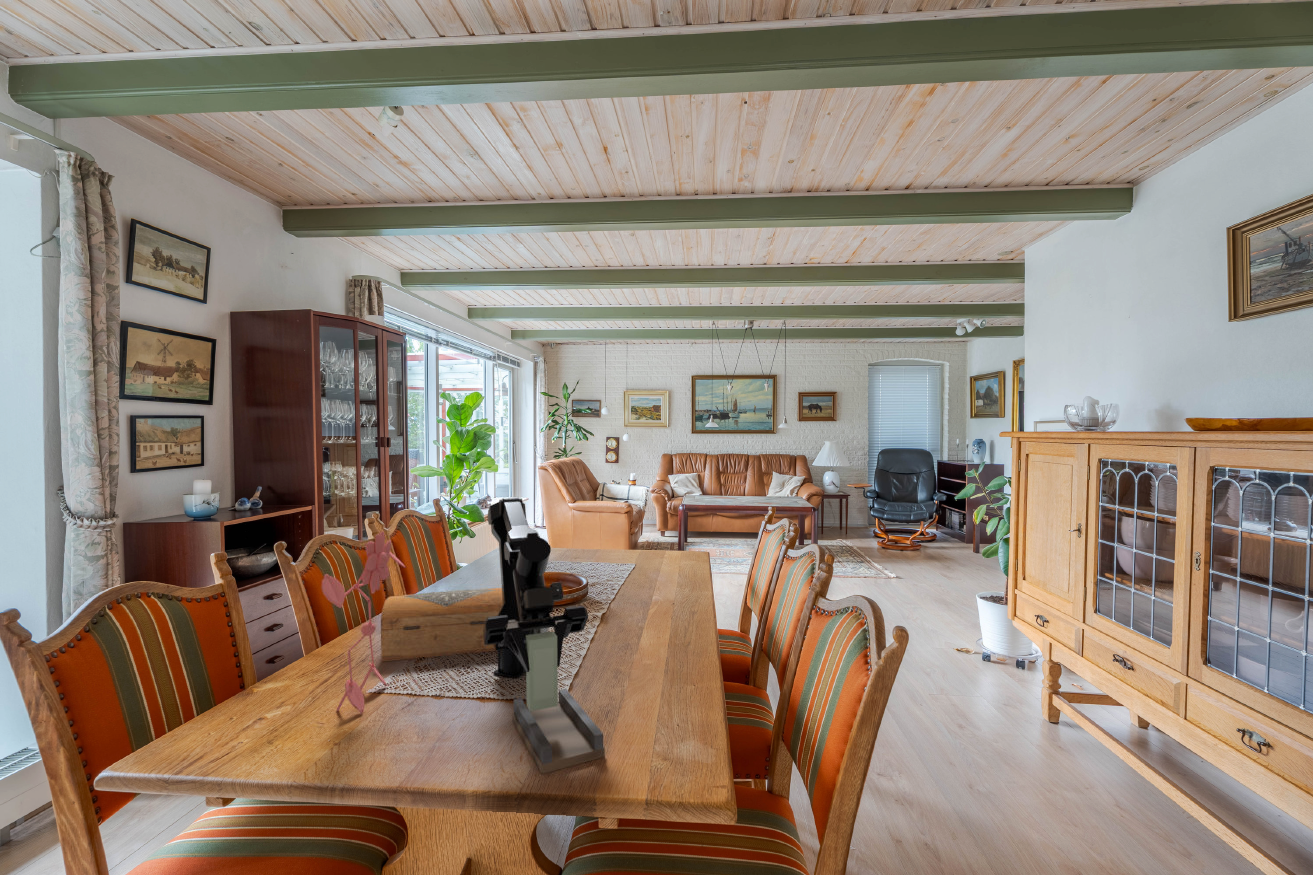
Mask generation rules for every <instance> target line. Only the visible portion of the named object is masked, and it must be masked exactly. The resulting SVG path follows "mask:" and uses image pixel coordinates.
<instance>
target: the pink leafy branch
mask: <svg viewBox="0 0 1313 875" xmlns="http://www.w3.org/2000/svg"><path fill="white" fill-rule="evenodd" d="M385 540H386V538H385V532H384V530H381V531H380V533H377V534H376V536H375V537H374V541H372V540H369V541H368V542H367V543H366V544H365V554H366V556H367V559H366V560H365V561H366V562H365V564H364V569H363V571H362V573H361V575H360V577H359V578H358V580H357V582H356V583H354V584H353V586H352V587H350V588H349V589H348V590H347V591H346V592H345V587H344V586H343V584H342V583H341V581H339V580H338V579H337V578H336V577H334V576H331V575H329V574H328V573H326V574H324V575H323V579H322V580H321V590H322V593H323V595H324V596H325V598H326V599H327V601H329V602H330V603H332V604H333V605H334V606H335V607H338V608H339V609H342V608H343V605H344V602H345V598H346V597H347V596H349V594H350V593H351V592H352V591H354V590H357V591H358V592H359V594H361V596H363V598H364V599H365V600H366V601H367V610H368V622H366V623H363V625H362V626H361V628H360V633H361V634H362V637H360V638H359V639H358V640H357V641H356V642H355V644H353V645H352V646H351V647H349V649H348V650H347V658H348V666H349V667H348V669H349V679H347V680H346V682H345V683H344V688H345V691H344V694H343V697H342V698H341V700H340V701H339V702H338V705H337V707H336V711H340V709H341V707H342V706H343V703H344V702H345V700H346V697H347V700H348V702H349V703H350V704H351V706H352V707H353V708H354V709H356V710H358V712H360V714H363V713H364V711H365V698H364V697H365V696H364V694H363V691H362V689H364V688H363V687H364V686H365V684H366V683H367V681H368V679H369V676H370V674H371V673H372V672H373V673H374V675H375V676H376V677H377V678H378V680H379V681H380V682H381V683H382V684H383V685H384V686H385V687H387V686H388V683H387V682H386V681H385V679H384V678H383V676H382V675H381V674H380V672H379V670H377V668H376V665H375V661H374V660H375V659H374V650H373V642H372V635H373V634H374V633H375V632H376V630H377V629H376V625H375V624H374V623H373V622H372V601H371V599H370V597H369V596H368V595H366V593H364V591H362V589H360V587H363V586H365V585H368V584H369V587H370V592H371V594H375V592H376V591H379V590H380V587H381V581H384V580H387V579H388V578H389V576H390V569H389V567H388V563H389V560H390V558H392V560H394V562H396V564H398V565H399V566H401V567H403V568H404V569H405V568H406V566H405V564H404V563H403V562H402V561H401V560H400V559H399V558H398V557H397V556H396V555H395V554H394V553H392V552H391V548H392V541H391V540H390V539H388V540H387V541H385ZM366 637H368V639H369V646H370V655H371V662H368V665H369V667H370V668H369V669H368V671H367V673H366V675H365V676H364V679H363V681H362V683H361V684H360V685H359V684H358V683H357V682H356V681H355V680H353V673H352V660H351V651H353V649H354V648H355V647H356V646H357V645H358V644H359V643H360V642H361V641H362V640H363V639H364V638H366ZM413 680H414V679H412V681H413ZM415 681H416V680H414V682H415ZM421 685H422V687H424V686H423V684H421ZM421 696H422V695H419V696H417V697H416V698H415V699H414V700H413V701H411V702H410V703H409V704H407V705H406V706H404V707H402V708H401V710H403V709H405V708H407V707H408V706H411V704H413V703H414V702H415V701H416V700H417V699H418V698H421ZM315 723H316V724H319V725H320V724H322V725H325V723H323V722H319V721H318V722H315Z"/></svg>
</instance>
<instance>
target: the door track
mask: <svg viewBox="0 0 1313 875" xmlns="http://www.w3.org/2000/svg"><path fill="white" fill-rule="evenodd" d="M512 703H513V712H512V715H511V716H512V717H511V720H512V723H513V724H514V726H515V728H516V730H517V732H518V733H519V735H520V737H521V740H522V741H523V743H524V744H525V746H526V749H527V750H528V752H529V754H530V755H531V757H532V760H533V761H534V762H535V765H536V767H537V768H538V770H539V771H540V774H541V775H543V774H547V773H550V772H551V773H552V772H554V771H558V770H562V769H565V768H568V767H569V768H570V767H572V766H576V765H580V764H583V763H587V762H590V761H593V760H597V759H601V758H604V757H606V754H605V753H606V748H605V746H604V733H603V732H602V730H601V729H600V728H599V727H598V725H597V724H596V723H595V722H594V720H592V718H591V717H590V716H589V715H588V713H587V712H586V711H585V710H584V709H583V707H582V706H581V705H580V703H578V701H577V700H576V699H575V698H574V697H573V695H572V694H571V693H570V691H568V689H567V688H563V689H562V688H561V689H558V706H555V707H550V708H545V709H540V710H534V711H529V708H528V706H527V704H526V703H525V701H524V700H523V698H522V697H520V698H515V699H513V702H512Z"/></svg>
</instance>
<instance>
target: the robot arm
mask: <svg viewBox="0 0 1313 875" xmlns="http://www.w3.org/2000/svg"><path fill="white" fill-rule="evenodd" d="M487 523H488V525H489V526H490V531H491V534H492V535H493V536H494V538H495V540H496V541H497V542H498V550H499V566H500V580H501V581H500V583H501V588H502V600H503V605H502V607H501V609H500V611H499V613H498V615H497V616H494V617H488V618H487V619H486V620H485V624H484V630H483V638H484V644H485V645H492V644H493V645H494V647H495V650H497V669H495V671H493V674H494V675H497V676H501V677H502V676H503V677H509V678H514V679H517V678H519V677H520V676H522V675H523V674H525V673H526V672H529V670H530V667H529V660H528V656H527V652H526V635H531V634H534V632H535V629H542V628H549V629H550V628H553V630H554V631H553V632H554V633H555V634H556V636H557V668H559V667H560V665H561V657H562V650H563V644H564V640H565V638H568V637H569V634H574V633H581V632H583V631H584V630H585V627H586V624H587V622H588V619H589V613H588V609H587V608H586V607H585V606H584V605H583V604H582V605H575V606H568V607H564V611H563V613H562V614H561V615H553V616H551V613H553V611H554V605H555V602H561V601H562V600H563V599H564V590H563V585H562V582H561V581H558V582H551V584H550V585H549V586H546V583H545V582H546V581H545V578H544V574H545V573H546V571H547V566H548V563H549V559H550V554H551V550H552V549H551V545H550V544H549V542H548V541H547V540H545V539H544V538H543V537H542V538H541V535H540V534H539V531H537V530H536V529H534V528H531V527H530V526H529V523H528V520H527V514H526V503H524V502H523V499H522V498H521V497H518V496H516V497H503V498H501V499H499V500H498V502H496V503H493V504H492V505H490V506H489V507H488V510H487Z"/></svg>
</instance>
